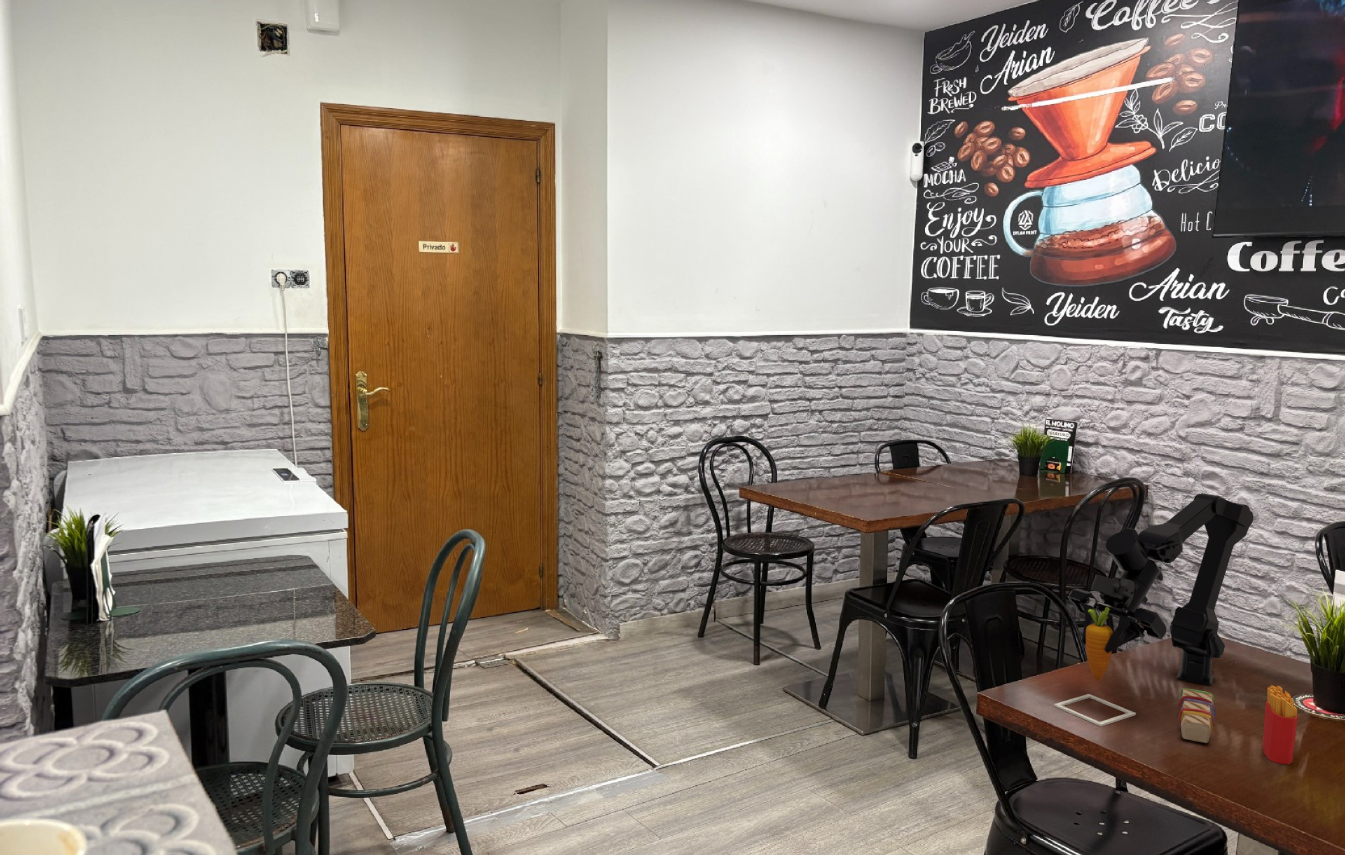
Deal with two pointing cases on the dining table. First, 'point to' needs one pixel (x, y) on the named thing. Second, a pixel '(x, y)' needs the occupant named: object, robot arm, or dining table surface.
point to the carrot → (1098, 644)
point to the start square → (1105, 722)
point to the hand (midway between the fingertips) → (1094, 647)
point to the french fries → (1279, 726)
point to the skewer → (1196, 714)
